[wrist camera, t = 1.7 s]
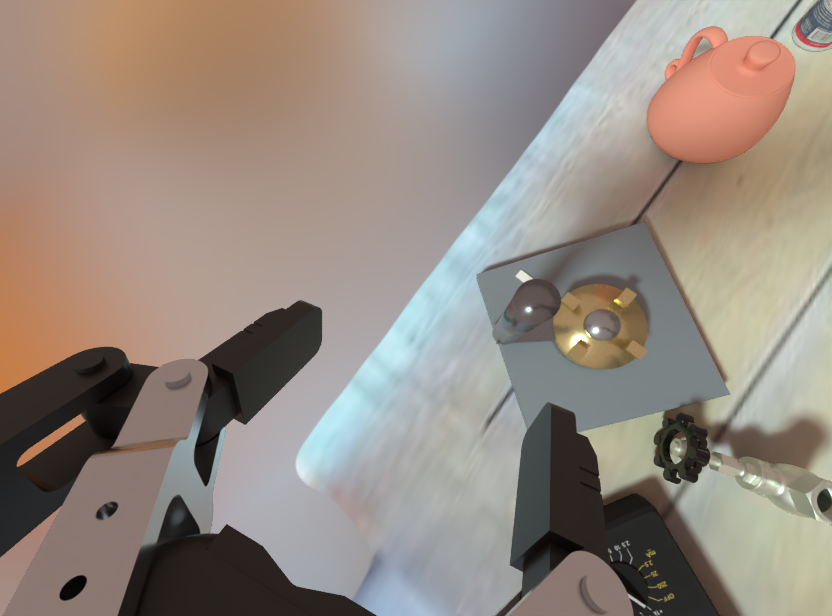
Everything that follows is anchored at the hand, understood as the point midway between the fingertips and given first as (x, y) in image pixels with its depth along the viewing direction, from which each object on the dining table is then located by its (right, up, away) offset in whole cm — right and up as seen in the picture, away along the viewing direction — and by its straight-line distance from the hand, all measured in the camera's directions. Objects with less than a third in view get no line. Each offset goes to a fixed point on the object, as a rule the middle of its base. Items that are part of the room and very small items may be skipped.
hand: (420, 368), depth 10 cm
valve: (+31, -14, +22) cm, 40 cm away
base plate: (+20, -1, +26) cm, 33 cm away
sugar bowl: (+34, +25, +29) cm, 51 cm away
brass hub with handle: (+16, 0, +24) cm, 29 cm away
